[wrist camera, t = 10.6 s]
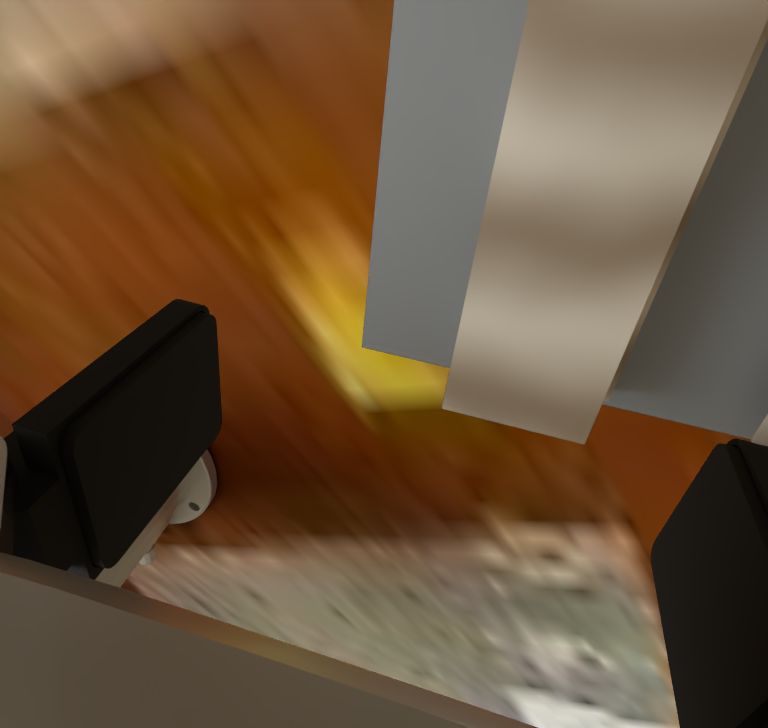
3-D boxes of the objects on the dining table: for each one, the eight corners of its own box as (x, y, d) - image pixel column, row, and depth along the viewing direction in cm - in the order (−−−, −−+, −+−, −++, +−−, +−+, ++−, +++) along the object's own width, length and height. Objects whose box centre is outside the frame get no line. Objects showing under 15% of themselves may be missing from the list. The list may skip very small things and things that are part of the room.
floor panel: (887, 459, 25) (898, 474, 24) (367, 337, 29) (361, 347, 28) (1302, -15, 15) (1345, -16, 14) (411, -103, 19) (404, -108, 18)
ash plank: (607, 389, 26) (614, 452, 22) (457, 353, 27) (441, 408, 23) (784, -24, 17) (845, -30, 13) (547, -51, 18) (542, -64, 14)
